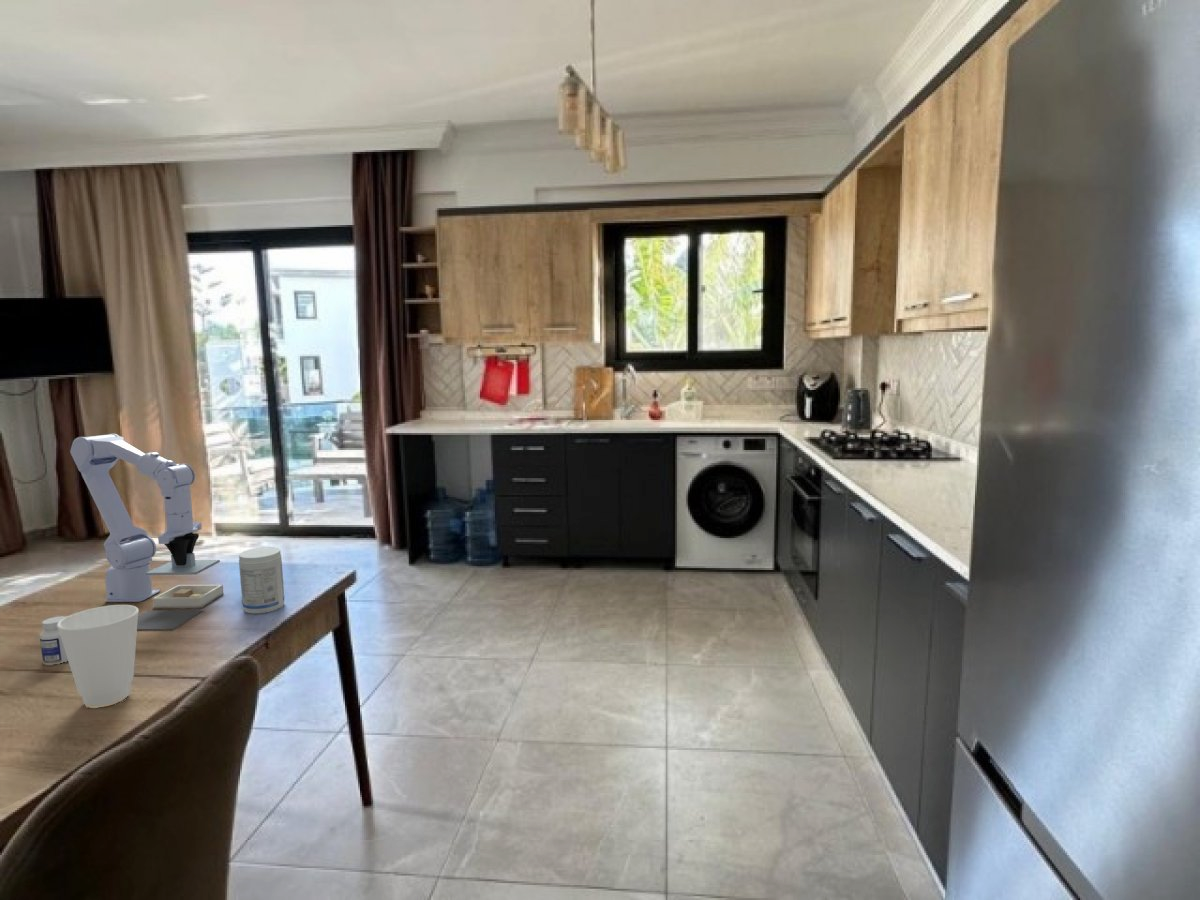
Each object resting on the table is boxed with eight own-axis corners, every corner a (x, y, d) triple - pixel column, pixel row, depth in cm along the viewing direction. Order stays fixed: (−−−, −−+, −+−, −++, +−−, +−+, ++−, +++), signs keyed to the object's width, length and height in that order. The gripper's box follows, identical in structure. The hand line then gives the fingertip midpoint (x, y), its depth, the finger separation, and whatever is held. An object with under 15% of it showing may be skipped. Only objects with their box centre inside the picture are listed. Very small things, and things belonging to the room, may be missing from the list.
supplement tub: (255, 600, 169) (251, 546, 167) (291, 601, 169) (288, 546, 167) (234, 615, 160) (230, 557, 158) (273, 615, 159) (268, 557, 157)
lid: (146, 575, 161) (144, 560, 161) (172, 562, 172) (171, 548, 171) (196, 574, 162) (194, 559, 161) (219, 561, 172) (218, 548, 171)
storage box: (153, 608, 164) (152, 598, 164) (178, 594, 174) (177, 584, 174) (200, 608, 164) (200, 598, 164) (223, 594, 174) (222, 584, 174)
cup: (55, 722, 112) (45, 634, 110) (78, 690, 123) (69, 609, 121) (138, 707, 117) (129, 622, 114) (153, 678, 127) (145, 600, 125)
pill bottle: (67, 652, 139) (62, 613, 138) (81, 657, 137) (76, 617, 135) (37, 663, 134) (32, 622, 133) (51, 668, 132) (46, 626, 131)
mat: (114, 630, 150) (114, 629, 150) (148, 611, 162) (148, 610, 162) (172, 630, 150) (172, 628, 150) (202, 611, 162) (202, 610, 162)
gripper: (176, 518, 158) (181, 572, 159) (211, 505, 172) (215, 555, 174) (147, 519, 157) (152, 572, 159) (184, 506, 172) (189, 555, 174)
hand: (183, 563), depth 167 cm, fingers closed on lid, 2 cm apart
